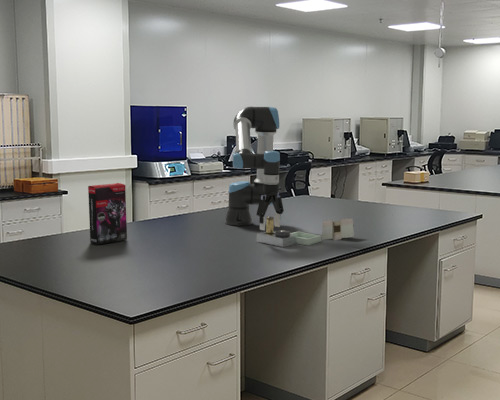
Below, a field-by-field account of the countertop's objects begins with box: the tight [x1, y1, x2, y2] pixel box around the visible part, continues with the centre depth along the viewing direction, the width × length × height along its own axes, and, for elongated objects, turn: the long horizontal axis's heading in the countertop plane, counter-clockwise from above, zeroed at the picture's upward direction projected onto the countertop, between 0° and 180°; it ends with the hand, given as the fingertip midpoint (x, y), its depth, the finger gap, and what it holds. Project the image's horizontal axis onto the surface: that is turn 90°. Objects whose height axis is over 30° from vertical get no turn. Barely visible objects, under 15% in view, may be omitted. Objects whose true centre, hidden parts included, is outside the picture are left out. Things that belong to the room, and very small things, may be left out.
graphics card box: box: [87, 182, 128, 246], centre depth 286 cm, size 17×7×27 cm, turn 137°
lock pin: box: [265, 216, 275, 235], centre depth 296 cm, size 4×4×12 cm
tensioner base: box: [256, 229, 296, 248], centre depth 294 cm, size 16×10×7 cm, turn 49°
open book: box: [321, 218, 355, 241], centre depth 311 cm, size 16×9×15 cm
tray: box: [290, 231, 322, 246], centre depth 299 cm, size 14×12×3 cm
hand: (269, 228), depth 296 cm, fingers open, 11 cm apart
